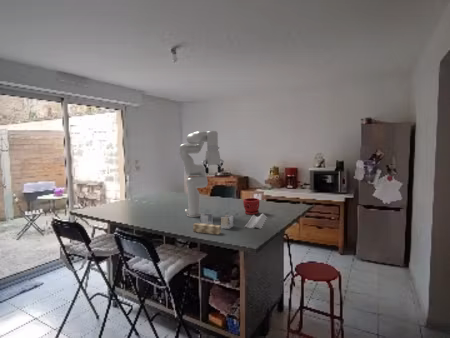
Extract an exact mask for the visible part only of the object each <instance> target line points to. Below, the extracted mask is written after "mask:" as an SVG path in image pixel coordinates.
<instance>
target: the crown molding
mask: <svg viewBox="0 0 450 338" xmlns="http://www.w3.org/2000/svg"><path fill="white" fill-rule="evenodd" d="M266 218H267V219H268V217H267V216H266V214H264V213H261V214H260V215H259V216H256V214H254V215H252V216H251V217H250V219H249V220H248V222H246V224H245V226H244V228H246V229H255V228H257V229H259V230H260V229H261V228H263V227H264V225H265V223H266V221H267V219H266ZM265 220H266V221H265ZM264 222H265V223H264ZM263 224H264V225H263ZM262 226H263V227H262ZM261 230H262V229H261Z"/></svg>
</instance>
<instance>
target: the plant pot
mask: <svg viewBox="0 0 450 338" xmlns="http://www.w3.org/2000/svg"><path fill="white" fill-rule="evenodd" d="M242 201H243V207H244V213H245V214H246V215H252V216H253V215H258V214H259V213H260V211H259V208H260V199H259V198H257V197H256V198H255V197H249V198H244V199H243V200H242Z"/></svg>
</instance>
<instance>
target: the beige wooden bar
mask: <svg viewBox="0 0 450 338" xmlns="http://www.w3.org/2000/svg"><path fill="white" fill-rule="evenodd" d="M221 229H222V228H221V224H220V225H219V224H212V225H211V224H202V223H200V222H195V223H193V226H192V230H193V232H194V233H204V234H210V235H211V234H212V235H220V234H221V233H222V230H221Z"/></svg>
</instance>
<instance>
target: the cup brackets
mask: <svg viewBox="0 0 450 338" xmlns="http://www.w3.org/2000/svg"><path fill="white" fill-rule="evenodd" d="M213 220H214V219H213V213H209V212H208V213H207V212H204V213H202V215H200V216H199V223H202V224H211V225H214V223H213ZM220 225H221V229H223V230H230V229H232V228H233V227H234V215H232V214H225V215H224V216H221V217H220Z"/></svg>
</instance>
